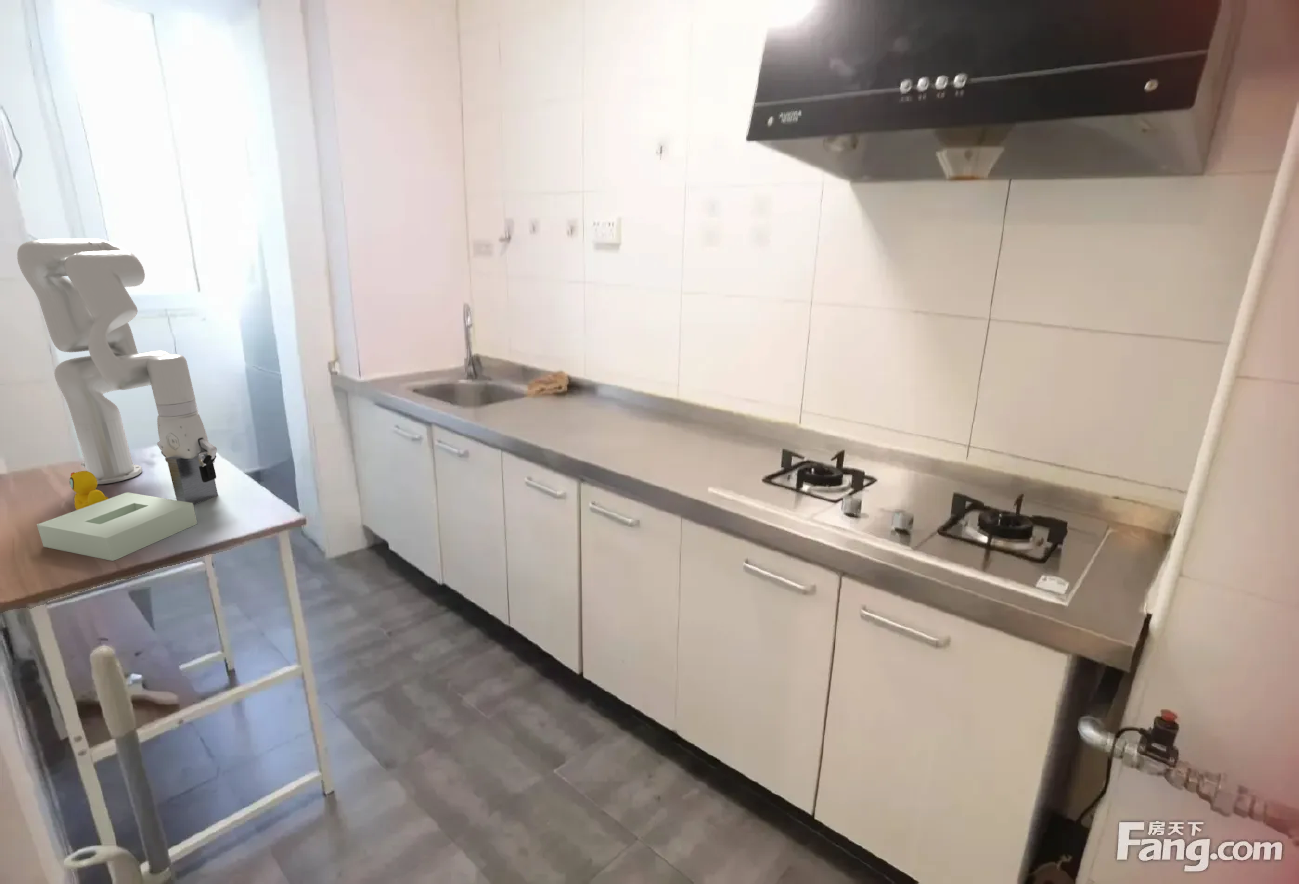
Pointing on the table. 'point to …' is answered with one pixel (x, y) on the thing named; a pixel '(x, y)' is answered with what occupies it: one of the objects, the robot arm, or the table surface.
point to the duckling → (85, 489)
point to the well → (117, 525)
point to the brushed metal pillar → (190, 481)
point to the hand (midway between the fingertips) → (194, 478)
